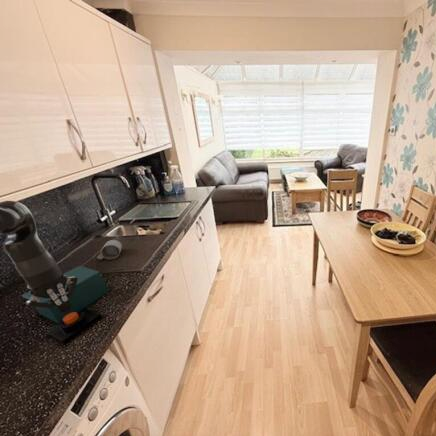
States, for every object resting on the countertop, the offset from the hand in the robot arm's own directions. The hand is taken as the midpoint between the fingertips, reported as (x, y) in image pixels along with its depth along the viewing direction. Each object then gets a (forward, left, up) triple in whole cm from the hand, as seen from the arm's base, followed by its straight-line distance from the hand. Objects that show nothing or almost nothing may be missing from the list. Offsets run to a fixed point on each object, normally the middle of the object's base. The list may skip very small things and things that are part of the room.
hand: (66, 310), depth 77 cm
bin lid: (+6, +14, +2) cm, 15 cm away
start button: (0, 0, -4) cm, 4 cm away
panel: (0, 0, -7) cm, 7 cm away
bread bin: (+7, +14, -7) cm, 17 cm away
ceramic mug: (+33, +33, -8) cm, 47 cm away
